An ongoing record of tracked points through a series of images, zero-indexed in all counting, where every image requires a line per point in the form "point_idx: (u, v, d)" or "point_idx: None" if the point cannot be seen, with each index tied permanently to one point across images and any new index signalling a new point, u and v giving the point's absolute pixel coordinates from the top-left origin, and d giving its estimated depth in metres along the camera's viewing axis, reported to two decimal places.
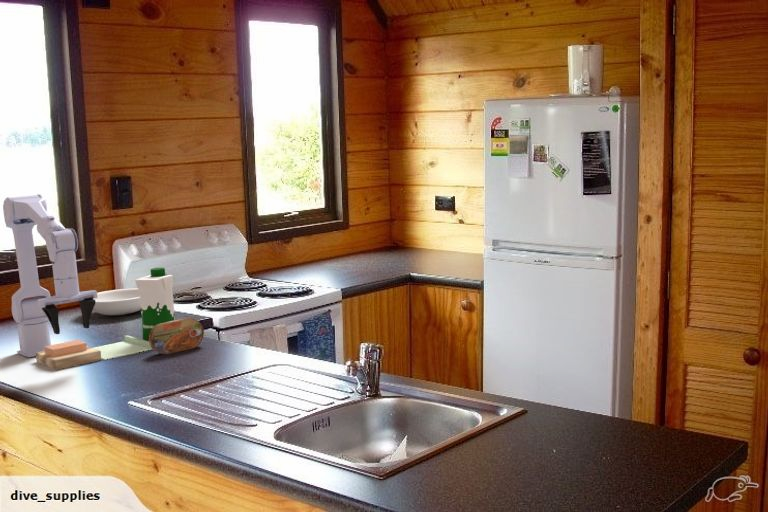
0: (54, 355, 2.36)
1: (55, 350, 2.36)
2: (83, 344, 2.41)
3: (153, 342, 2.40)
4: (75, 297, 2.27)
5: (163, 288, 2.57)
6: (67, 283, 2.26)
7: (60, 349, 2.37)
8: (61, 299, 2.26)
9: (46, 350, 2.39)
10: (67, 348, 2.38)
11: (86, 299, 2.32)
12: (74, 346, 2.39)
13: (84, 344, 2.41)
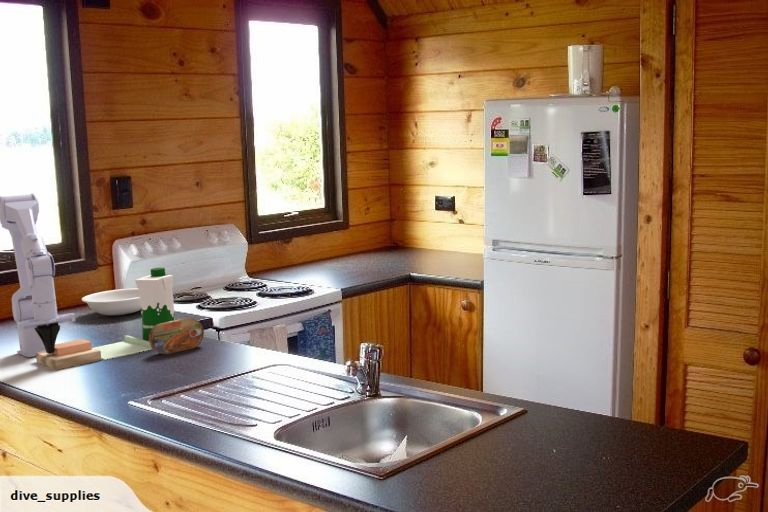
0: (59, 354, 2.37)
1: (60, 349, 2.37)
2: (88, 343, 2.42)
3: (153, 342, 2.40)
4: (53, 321, 2.34)
5: (163, 288, 2.57)
6: (45, 307, 2.34)
7: (65, 348, 2.38)
8: (39, 322, 2.34)
9: None
10: (72, 347, 2.39)
11: None
12: (79, 345, 2.40)
13: (89, 343, 2.42)
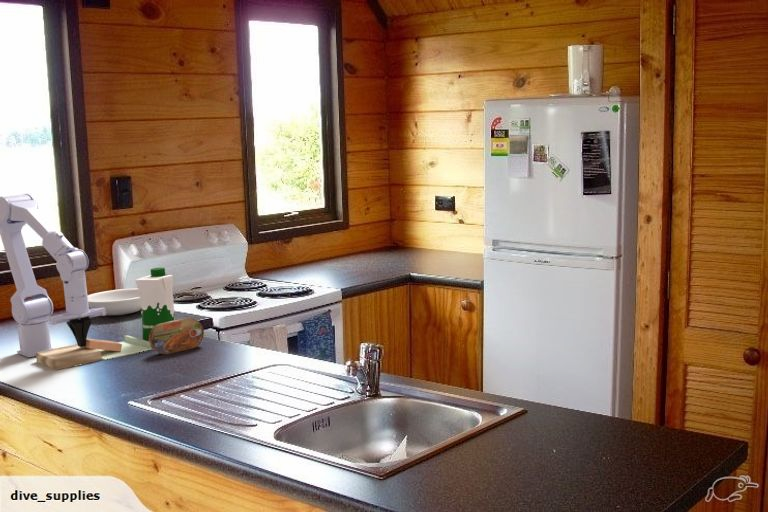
0: (90, 346, 2.42)
1: (92, 342, 2.42)
2: (119, 344, 2.47)
3: (153, 342, 2.40)
4: (85, 314, 2.40)
5: (163, 288, 2.57)
6: (77, 301, 2.39)
7: (97, 342, 2.43)
8: (72, 316, 2.39)
9: None
10: (103, 343, 2.44)
11: None
12: (110, 344, 2.45)
13: (120, 345, 2.47)
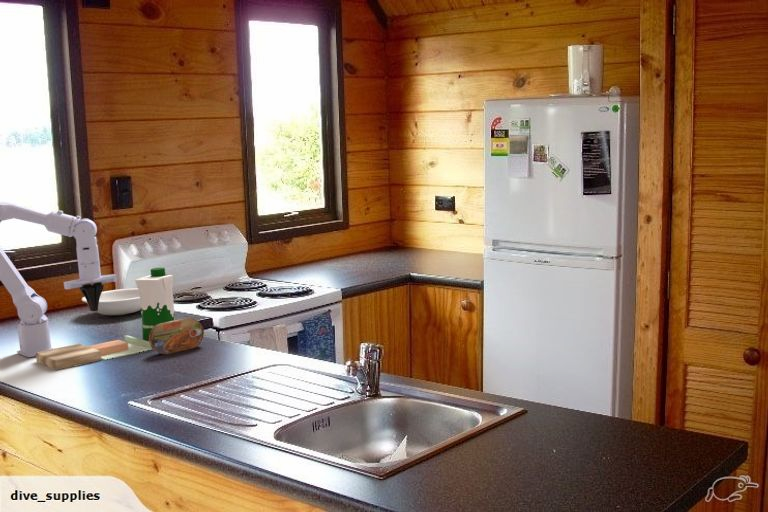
0: None
1: (98, 349, 2.43)
2: (125, 344, 2.48)
3: (153, 342, 2.40)
4: (97, 280, 2.51)
5: (163, 288, 2.57)
6: (90, 267, 2.50)
7: (103, 349, 2.44)
8: (85, 282, 2.50)
9: None
10: (110, 348, 2.45)
11: None
12: (116, 346, 2.47)
13: (126, 344, 2.48)
